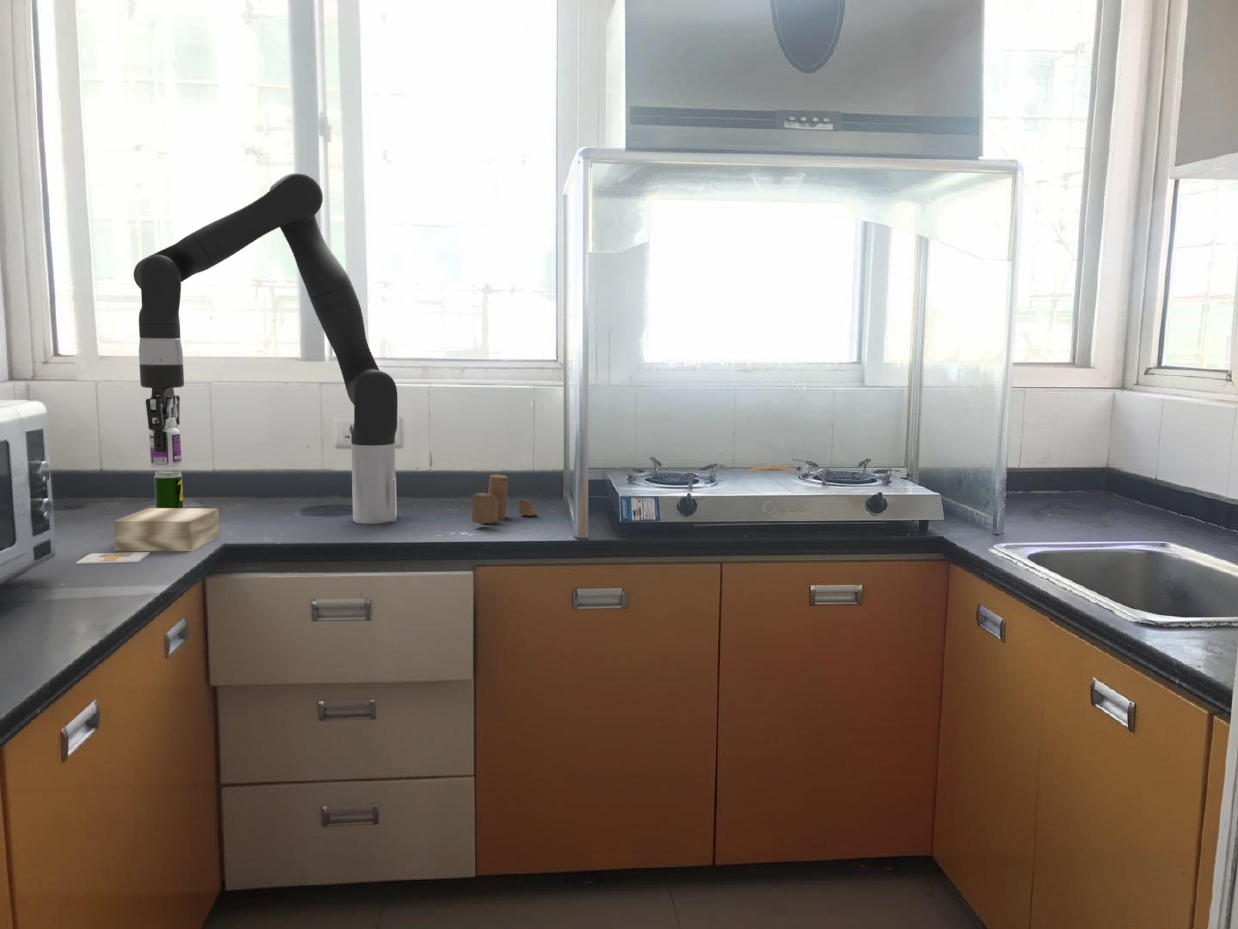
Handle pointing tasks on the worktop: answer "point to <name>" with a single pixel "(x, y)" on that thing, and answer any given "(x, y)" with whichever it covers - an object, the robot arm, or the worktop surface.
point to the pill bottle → (173, 454)
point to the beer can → (168, 489)
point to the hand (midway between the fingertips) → (165, 449)
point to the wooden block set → (496, 502)
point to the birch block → (166, 529)
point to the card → (113, 558)
